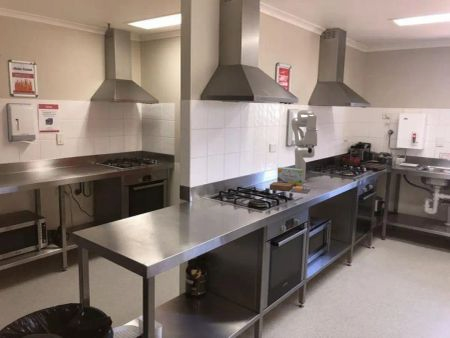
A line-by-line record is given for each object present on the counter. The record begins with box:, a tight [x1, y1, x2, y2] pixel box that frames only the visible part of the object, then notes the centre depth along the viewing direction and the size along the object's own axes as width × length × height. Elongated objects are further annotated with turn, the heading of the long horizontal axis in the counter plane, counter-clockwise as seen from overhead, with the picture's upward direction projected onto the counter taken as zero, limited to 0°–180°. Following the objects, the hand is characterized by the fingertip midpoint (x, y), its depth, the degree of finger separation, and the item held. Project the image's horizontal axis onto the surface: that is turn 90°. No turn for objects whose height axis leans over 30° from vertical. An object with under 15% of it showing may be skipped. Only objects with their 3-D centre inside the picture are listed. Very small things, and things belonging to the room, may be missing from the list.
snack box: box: [276, 166, 304, 188], centre depth 311 cm, size 21×6×15 cm, turn 62°
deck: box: [269, 181, 294, 193], centre depth 296 cm, size 14×16×4 cm
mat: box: [290, 188, 311, 194], centre depth 291 cm, size 16×13×1 cm
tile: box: [293, 186, 305, 192], centre depth 291 cm, size 9×6×2 cm, turn 158°
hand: (309, 153), depth 298 cm, fingers closed
